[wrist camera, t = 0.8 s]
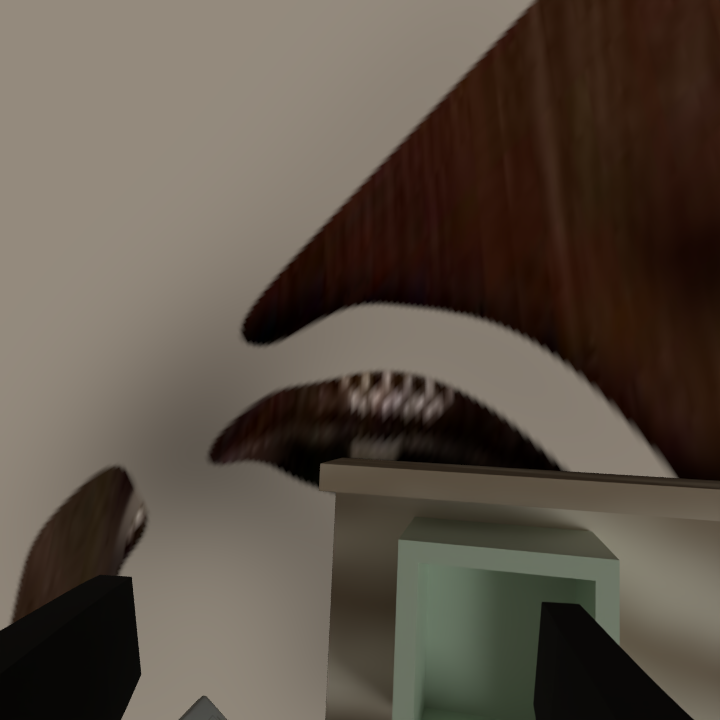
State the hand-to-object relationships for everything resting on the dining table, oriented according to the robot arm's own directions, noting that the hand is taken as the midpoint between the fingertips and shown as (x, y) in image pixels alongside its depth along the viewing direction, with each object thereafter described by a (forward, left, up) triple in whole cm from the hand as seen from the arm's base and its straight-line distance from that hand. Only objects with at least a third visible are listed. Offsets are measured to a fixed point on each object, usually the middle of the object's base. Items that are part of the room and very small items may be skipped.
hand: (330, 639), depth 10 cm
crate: (-5, -3, -17) cm, 19 cm away
